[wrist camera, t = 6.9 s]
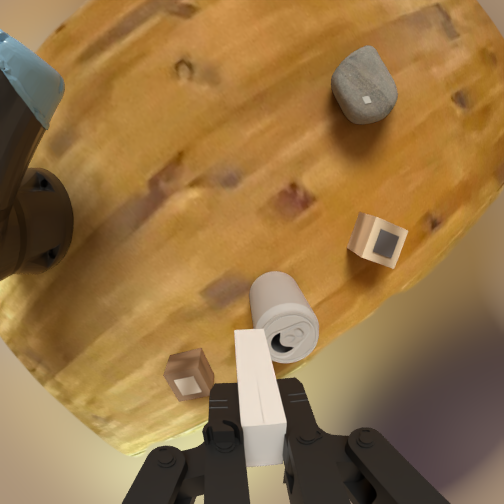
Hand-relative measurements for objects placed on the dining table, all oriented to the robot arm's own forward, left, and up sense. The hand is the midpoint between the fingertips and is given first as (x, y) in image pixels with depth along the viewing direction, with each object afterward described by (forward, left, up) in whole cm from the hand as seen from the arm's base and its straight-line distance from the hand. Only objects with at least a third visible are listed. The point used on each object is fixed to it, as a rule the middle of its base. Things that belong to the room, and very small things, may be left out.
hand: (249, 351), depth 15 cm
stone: (+16, +21, -23) cm, 35 cm away
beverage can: (+4, -6, -22) cm, 24 cm away
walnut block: (-8, -17, -22) cm, 29 cm away
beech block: (+17, +1, -22) cm, 28 cm away
